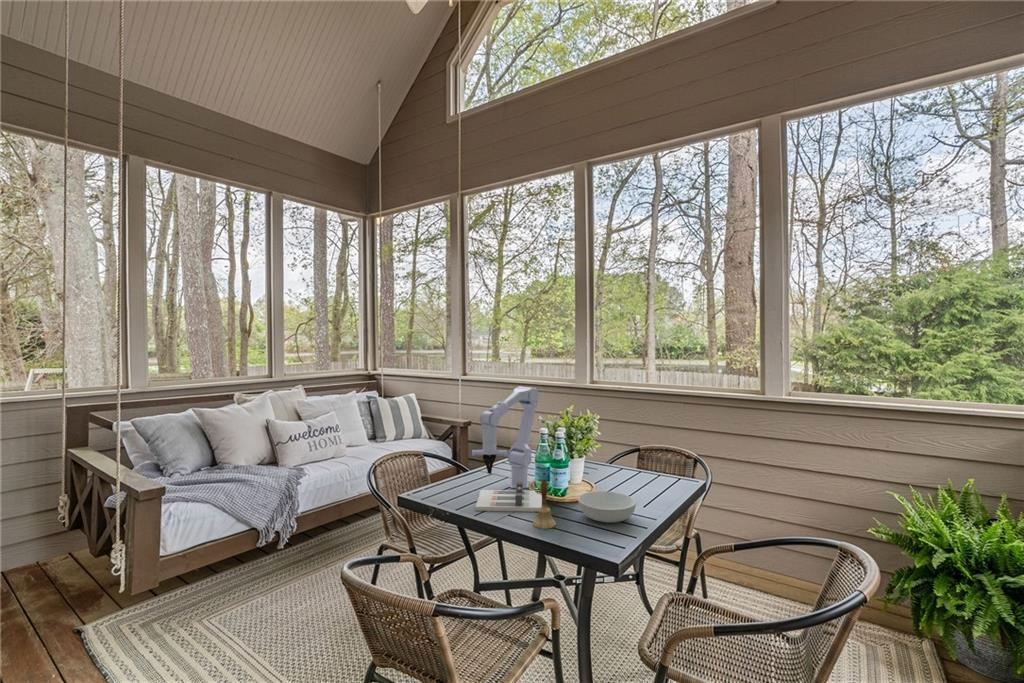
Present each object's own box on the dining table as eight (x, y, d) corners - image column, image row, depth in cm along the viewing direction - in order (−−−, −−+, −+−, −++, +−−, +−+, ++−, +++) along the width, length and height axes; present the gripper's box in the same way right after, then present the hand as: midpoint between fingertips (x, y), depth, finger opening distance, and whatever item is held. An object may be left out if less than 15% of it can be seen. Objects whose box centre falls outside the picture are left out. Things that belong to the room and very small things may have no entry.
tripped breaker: (516, 495, 193) (516, 486, 193) (522, 495, 193) (522, 486, 193) (516, 498, 190) (516, 489, 190) (522, 498, 190) (522, 489, 190)
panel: (481, 493, 202) (481, 480, 202) (542, 494, 201) (542, 481, 201) (475, 510, 182) (475, 496, 182) (543, 511, 181) (543, 497, 181)
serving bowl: (646, 518, 175) (646, 499, 175) (614, 534, 160) (614, 514, 160) (599, 503, 190) (599, 486, 190) (566, 517, 175) (566, 499, 175)
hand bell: (527, 524, 169) (527, 479, 169) (543, 518, 175) (543, 474, 175) (545, 531, 163) (545, 484, 163) (560, 524, 169) (560, 479, 169)
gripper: (470, 442, 194) (470, 475, 194) (506, 442, 193) (506, 475, 193) (473, 438, 201) (473, 470, 201) (507, 438, 200) (507, 471, 200)
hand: (489, 472), depth 198 cm, fingers closed
